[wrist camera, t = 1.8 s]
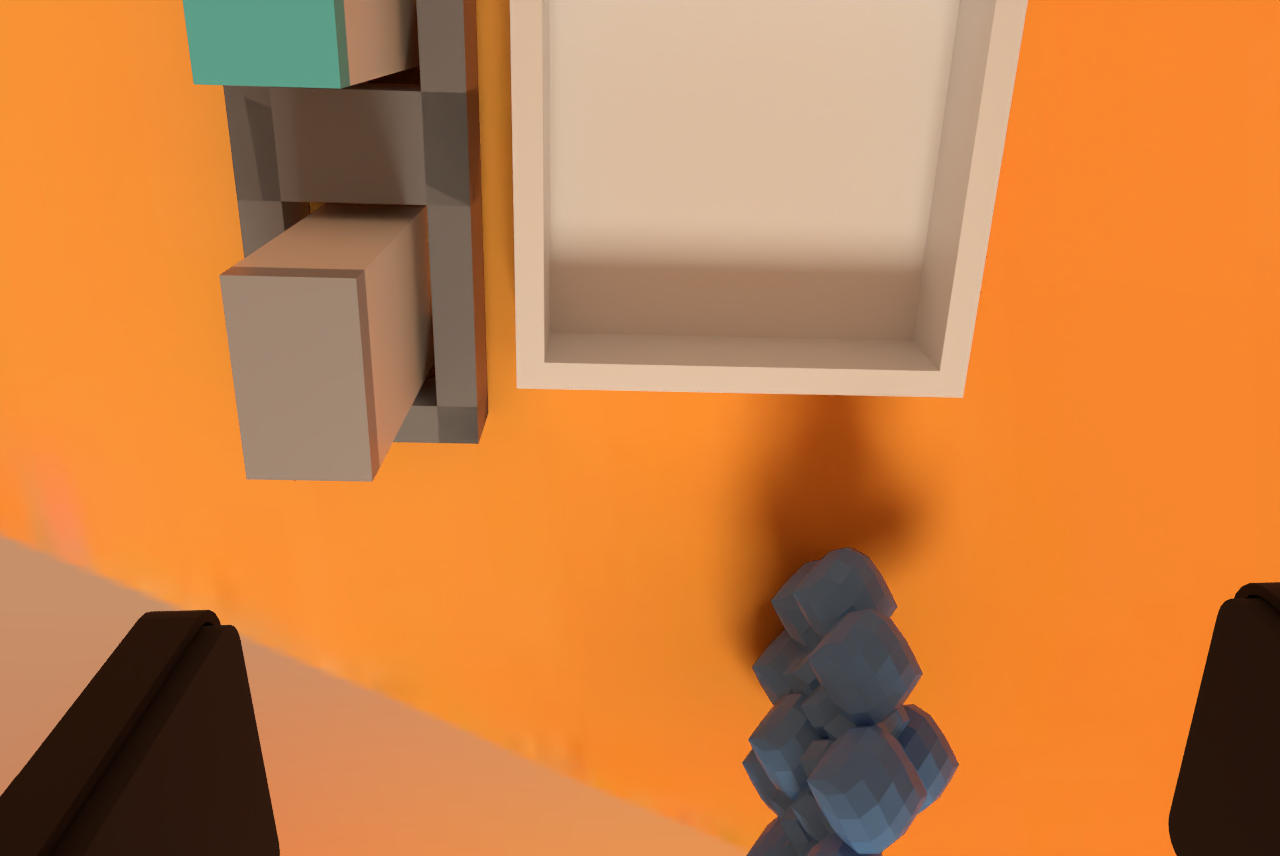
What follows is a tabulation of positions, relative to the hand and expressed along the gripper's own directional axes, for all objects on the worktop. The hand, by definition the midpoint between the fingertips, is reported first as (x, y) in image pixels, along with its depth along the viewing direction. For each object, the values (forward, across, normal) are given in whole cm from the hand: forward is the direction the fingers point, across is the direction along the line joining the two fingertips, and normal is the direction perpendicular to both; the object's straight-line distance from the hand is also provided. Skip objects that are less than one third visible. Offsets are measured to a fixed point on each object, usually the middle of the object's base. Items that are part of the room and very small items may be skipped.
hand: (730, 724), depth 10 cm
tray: (+23, -3, -3) cm, 23 cm away
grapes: (+23, -6, +15) cm, 28 cm away
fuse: (+23, +8, +1) cm, 25 cm away
